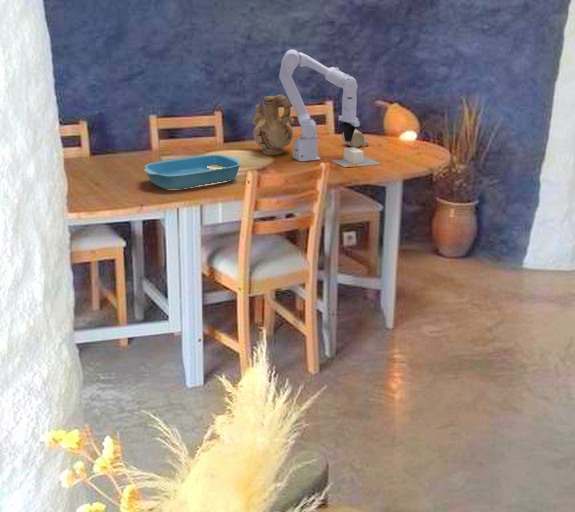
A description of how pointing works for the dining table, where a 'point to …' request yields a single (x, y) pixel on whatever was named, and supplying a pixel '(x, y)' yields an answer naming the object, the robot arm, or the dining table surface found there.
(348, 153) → the off-white block
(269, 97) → the ceramic vessel
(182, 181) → the casserole dish
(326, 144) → the dining table surface
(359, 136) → the ceramic mug
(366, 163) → the slate mat
